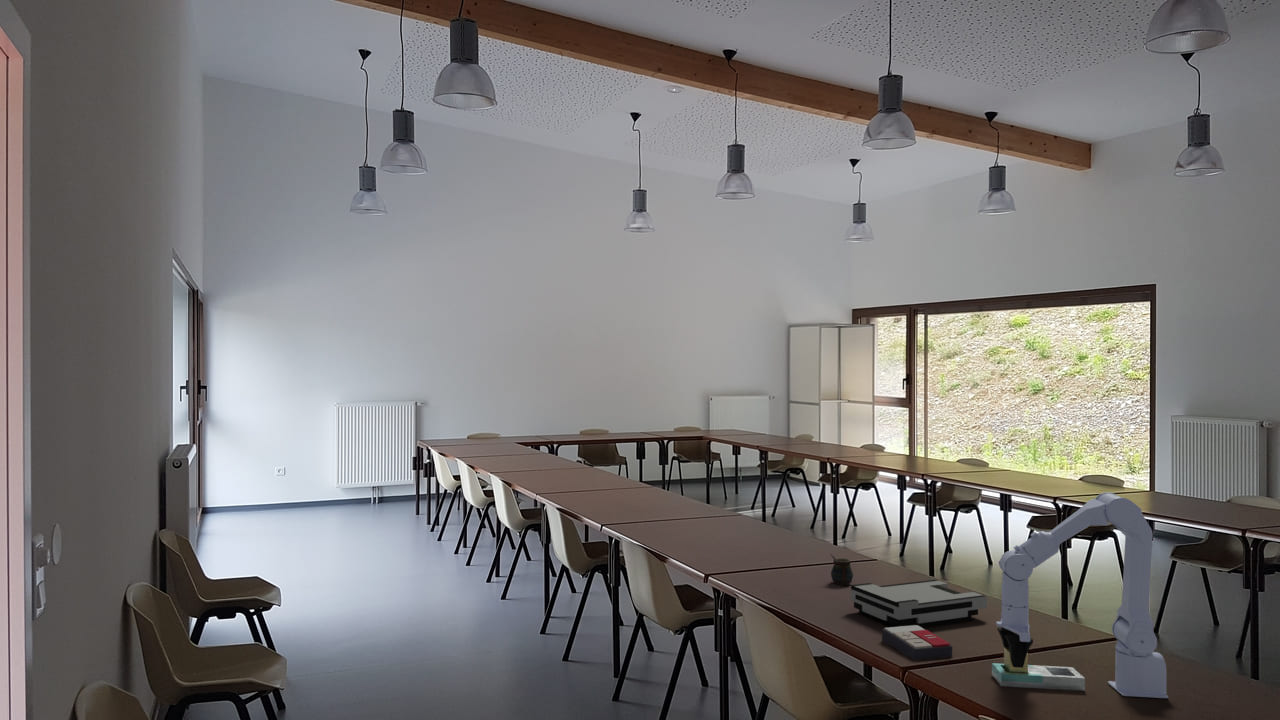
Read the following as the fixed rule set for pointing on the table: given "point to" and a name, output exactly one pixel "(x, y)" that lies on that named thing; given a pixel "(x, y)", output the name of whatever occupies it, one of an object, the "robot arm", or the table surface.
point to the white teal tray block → (1040, 677)
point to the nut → (1009, 667)
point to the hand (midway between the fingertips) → (1014, 663)
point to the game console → (917, 603)
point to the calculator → (916, 642)
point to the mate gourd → (841, 571)
